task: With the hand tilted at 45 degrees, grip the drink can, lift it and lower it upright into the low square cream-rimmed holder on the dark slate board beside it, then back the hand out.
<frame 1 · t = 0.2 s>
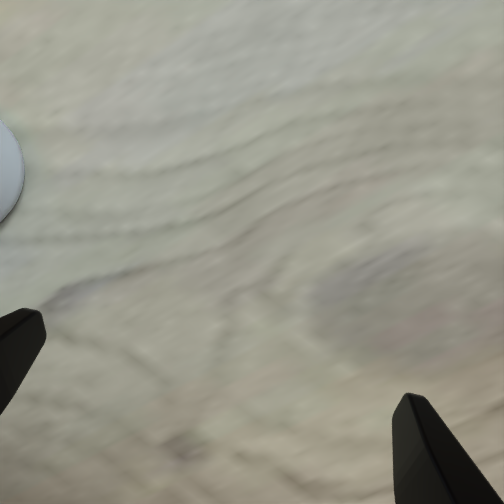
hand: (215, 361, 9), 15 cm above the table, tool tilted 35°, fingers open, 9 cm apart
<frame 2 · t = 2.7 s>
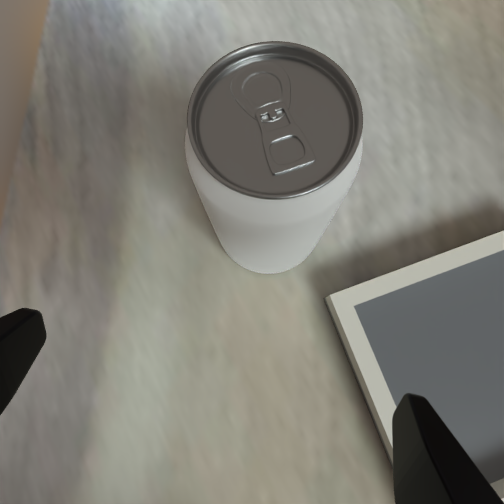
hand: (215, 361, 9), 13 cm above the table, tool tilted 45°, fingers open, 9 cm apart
can: (268, 225, 24), on the table
can holder: (472, 366, 21), on the table
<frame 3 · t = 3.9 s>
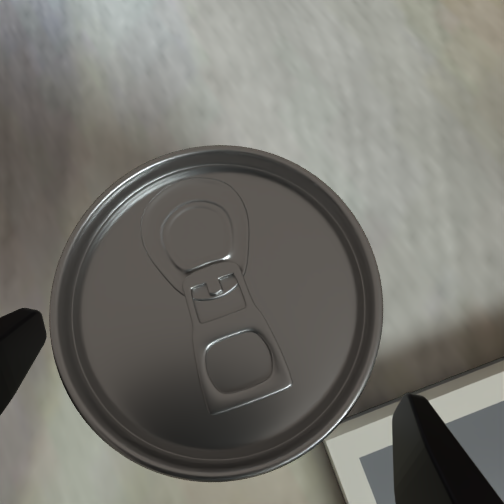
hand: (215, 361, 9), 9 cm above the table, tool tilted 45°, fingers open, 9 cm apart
can: (245, 323, 18), on the table
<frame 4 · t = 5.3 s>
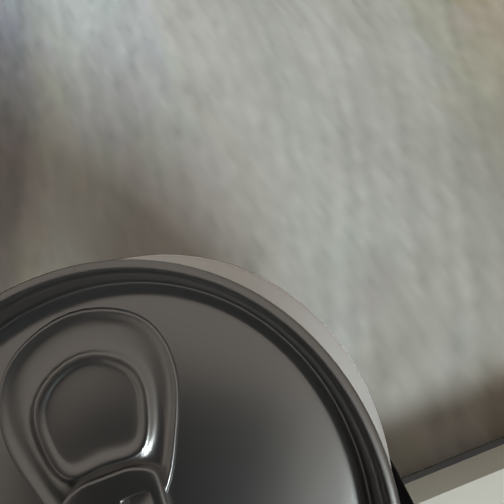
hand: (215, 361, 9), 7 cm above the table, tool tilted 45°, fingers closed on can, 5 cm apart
can: (227, 384, 15), on the table, touching gripper
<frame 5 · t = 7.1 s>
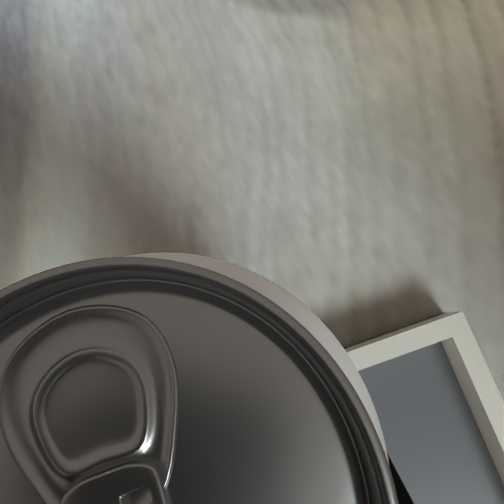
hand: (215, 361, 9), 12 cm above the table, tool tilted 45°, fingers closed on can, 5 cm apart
can: (226, 382, 15), point 5 cm above the table, touching gripper
can holder: (380, 474, 19), on the table
when the fingers open (8 cm above the table, at t = 9.2 s): can drops 1 cm, resting on can holder.
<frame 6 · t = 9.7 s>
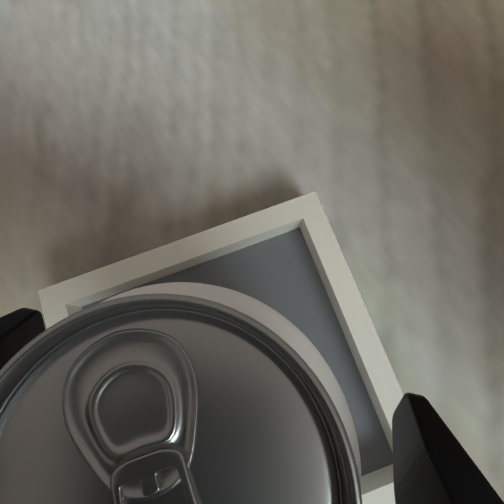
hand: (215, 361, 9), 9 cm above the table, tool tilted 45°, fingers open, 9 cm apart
can: (226, 385, 17), resting on can holder
can holder: (231, 378, 17), on the table
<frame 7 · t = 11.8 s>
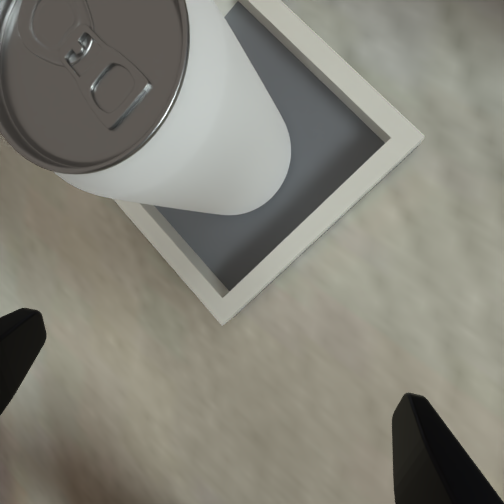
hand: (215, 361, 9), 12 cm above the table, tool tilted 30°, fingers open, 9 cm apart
can: (234, 156, 20), resting on can holder
can holder: (237, 152, 21), on the table
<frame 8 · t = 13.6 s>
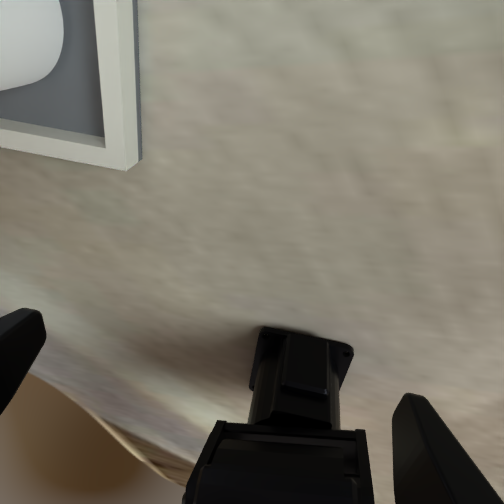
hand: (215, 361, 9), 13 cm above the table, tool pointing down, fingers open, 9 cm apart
can: (6, 8, 18), resting on can holder
can holder: (6, 1, 18), on the table
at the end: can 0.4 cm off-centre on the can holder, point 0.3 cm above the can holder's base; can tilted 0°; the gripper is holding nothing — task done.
